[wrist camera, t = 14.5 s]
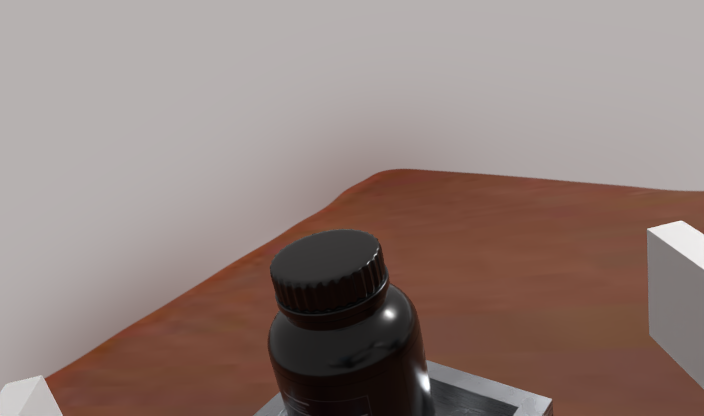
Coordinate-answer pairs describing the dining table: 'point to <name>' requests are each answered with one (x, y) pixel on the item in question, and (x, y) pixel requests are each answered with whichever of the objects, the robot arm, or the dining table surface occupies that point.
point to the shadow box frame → (462, 397)
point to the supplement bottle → (345, 331)
